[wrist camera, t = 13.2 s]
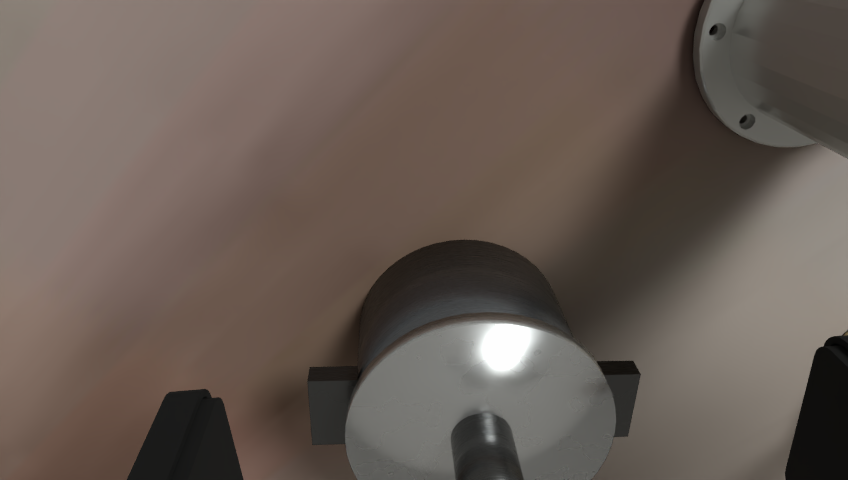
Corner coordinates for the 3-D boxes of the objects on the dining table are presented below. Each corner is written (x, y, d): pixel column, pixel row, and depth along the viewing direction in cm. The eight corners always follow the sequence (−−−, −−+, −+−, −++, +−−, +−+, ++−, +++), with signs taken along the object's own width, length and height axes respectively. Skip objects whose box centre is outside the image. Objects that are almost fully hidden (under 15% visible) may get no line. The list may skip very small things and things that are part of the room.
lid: (628, 309, 32) (678, 389, 26) (592, 512, 38) (626, 610, 33) (339, 315, 31) (330, 398, 26) (351, 521, 37) (345, 623, 32)
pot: (608, 235, 40) (664, 316, 32) (580, 405, 46) (622, 509, 38) (316, 238, 39) (298, 322, 31) (327, 411, 45) (314, 519, 37)
